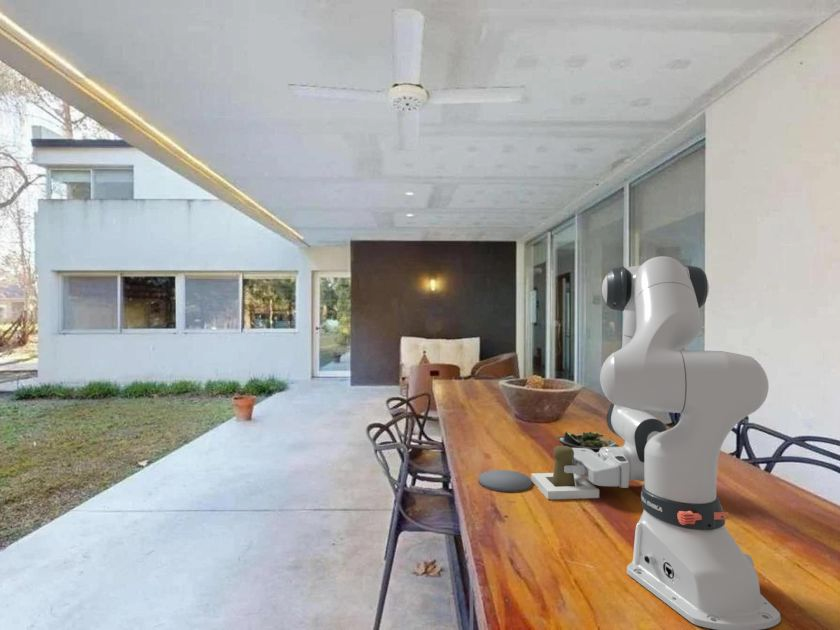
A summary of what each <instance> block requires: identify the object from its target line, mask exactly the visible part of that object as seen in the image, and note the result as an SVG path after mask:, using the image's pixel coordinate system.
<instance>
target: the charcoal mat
mask: <svg viewBox="0 0 840 630" xmlns="http://www.w3.org/2000/svg"><path fill="white" fill-rule="evenodd" d="M478 483H479V485H480V486H482V487H483V488H485V489H487V490H491V491H495V492H499V493H501V492H503V493H516V491H518V492H523V491H526V490H527V489H530V488H531V487H532V481H531V476H528V475H527V474H524V473H522V472H519V471H513V470H505V469H493V470H488V471H487V470H486V471H484V472H482V473H480V474H479V475H478ZM530 486H531V487H530ZM529 487H530V488H529ZM522 490H523V491H522ZM514 491H515V492H514Z"/></svg>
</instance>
